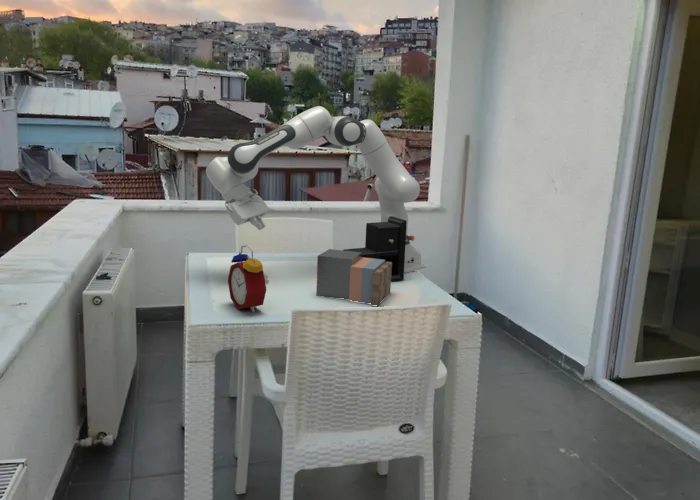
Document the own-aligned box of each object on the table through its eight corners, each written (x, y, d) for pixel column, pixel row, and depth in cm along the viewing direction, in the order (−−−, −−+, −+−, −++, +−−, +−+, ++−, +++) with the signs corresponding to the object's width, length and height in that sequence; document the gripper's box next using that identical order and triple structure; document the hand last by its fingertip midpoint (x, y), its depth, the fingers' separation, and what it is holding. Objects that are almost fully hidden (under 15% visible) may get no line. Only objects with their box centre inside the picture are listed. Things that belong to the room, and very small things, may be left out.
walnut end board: (384, 291, 200) (386, 261, 198) (390, 292, 199) (392, 262, 197) (371, 305, 183) (373, 273, 181) (377, 306, 182) (379, 273, 180)
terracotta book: (361, 290, 201) (363, 257, 198) (372, 291, 200) (374, 258, 197) (348, 301, 187) (350, 266, 184) (360, 303, 186) (362, 267, 183)
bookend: (350, 286, 205) (353, 222, 200) (336, 279, 214) (339, 217, 209) (404, 281, 216) (408, 220, 211) (389, 274, 225) (392, 216, 220)
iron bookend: (328, 287, 203) (329, 249, 200) (360, 291, 199) (362, 252, 196) (316, 295, 192) (317, 255, 189) (350, 300, 188) (352, 259, 185)
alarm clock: (227, 303, 179) (227, 241, 175) (252, 299, 184) (252, 239, 180) (247, 316, 167) (247, 250, 163) (273, 312, 172) (274, 248, 168)
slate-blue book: (372, 291, 200) (374, 258, 197) (383, 293, 199) (385, 259, 196) (360, 303, 186) (362, 267, 183) (372, 304, 184) (374, 269, 182)
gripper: (228, 196, 191) (253, 228, 190) (258, 189, 210) (280, 218, 209) (217, 207, 193) (242, 239, 193) (247, 199, 212) (269, 228, 212)
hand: (262, 228), depth 201 cm, fingers closed
